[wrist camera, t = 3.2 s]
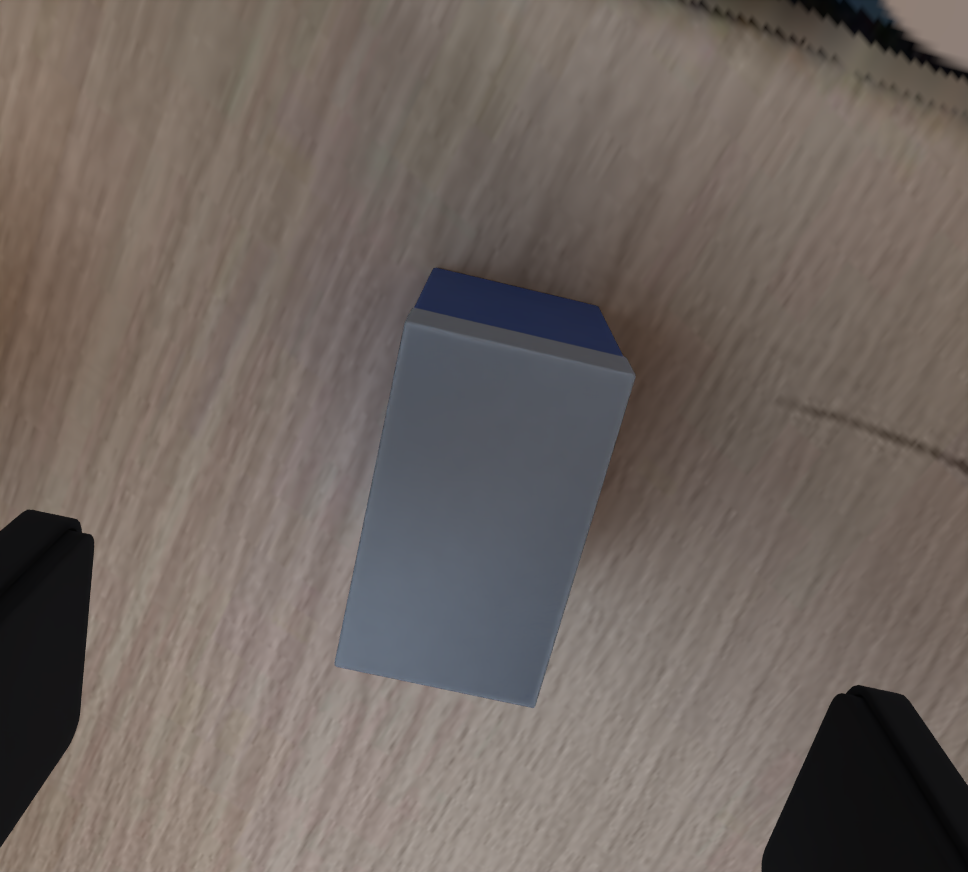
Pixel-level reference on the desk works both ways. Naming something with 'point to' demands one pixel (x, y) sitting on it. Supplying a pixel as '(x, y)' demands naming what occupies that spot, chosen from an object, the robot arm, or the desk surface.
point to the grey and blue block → (483, 487)
